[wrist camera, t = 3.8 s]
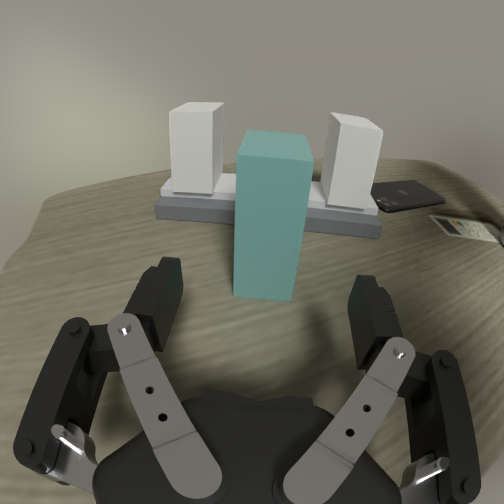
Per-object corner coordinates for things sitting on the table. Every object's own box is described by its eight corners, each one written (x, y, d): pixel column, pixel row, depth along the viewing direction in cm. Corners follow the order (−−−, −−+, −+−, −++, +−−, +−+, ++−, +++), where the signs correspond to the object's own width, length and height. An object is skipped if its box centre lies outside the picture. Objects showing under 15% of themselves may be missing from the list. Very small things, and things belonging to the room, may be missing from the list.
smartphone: (448, 199, 38) (387, 210, 32) (446, 204, 38) (385, 216, 33) (414, 178, 43) (348, 183, 38) (413, 183, 44) (347, 189, 38)
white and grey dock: (359, 198, 35) (375, 118, 29) (378, 238, 28) (404, 138, 22) (181, 182, 36) (178, 100, 30) (156, 218, 29) (147, 115, 23)
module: (289, 251, 26) (305, 134, 20) (290, 301, 21) (314, 161, 15) (242, 246, 26) (248, 129, 20) (233, 296, 21) (236, 154, 15)
